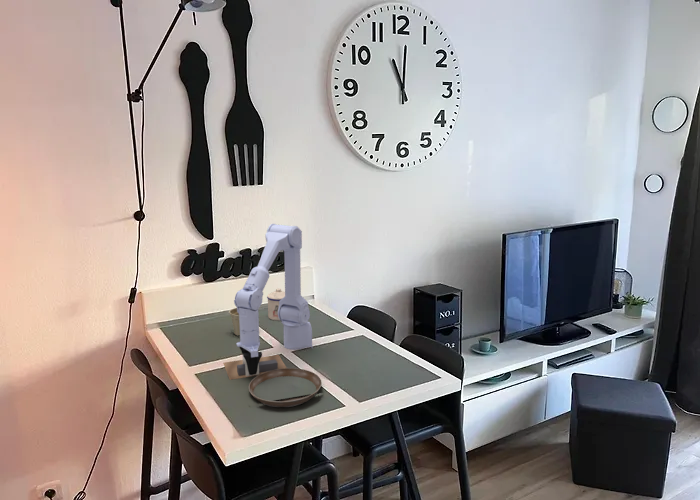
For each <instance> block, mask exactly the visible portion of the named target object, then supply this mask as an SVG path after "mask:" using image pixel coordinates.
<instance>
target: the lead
mask: <svg viewBox="0 0 700 500" xmlns="http://www.w3.org/2000/svg"><path fill="white" fill-rule="evenodd" d="M276 369H278V363H277V361H276V359H275V360H268V361H261V362H259V373H261V372H267V371H271V370H276ZM237 373H238V375H239V376H241V375H246V373H245V364H241V365H237Z"/></svg>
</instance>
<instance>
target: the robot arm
mask: <svg viewBox="0 0 700 500" xmlns="http://www.w3.org/2000/svg"><path fill="white" fill-rule="evenodd" d="M302 232H303V231H302V229H300V227H299V226H297V225H285V224H276V223H270V224H269V226H268V228H267V230H266V232H265V234H264V235H265V236H264V237H265V242H266V243H265V246H264V248H263V250H262V253H261V257H260V260H259V261H258V264H257V266H255V267H253V268H251V270H250V273H249V275H248V277H247V279H246V281H245V283H244V285H243V287H242V288H241V289H240V290H237V292H236V294H235V297H234V300H233V304H234V306H235V308H237V312H238V313H239V324H240V335H239V341H238V342H236V344H235V345H236V347H238V348H239V349H240V351H241V354H242V357H243V356H244V358H245V360H246V363H247V367H248V372H249V374H250V375H253V374H256V373H257V369H258V364H259V361H260V358H261V357H263V352H262V351H259V348H260V345H261V340H260V321H259V318H260V317H259V316H260V315H259V309H260V307H261V305H263V304H262V303H263V296H264V289H265V287H266V285H267V283H268V281H269V278H270V272H269V270H270V268H271V266H272V265H273V263H274V261H275V260H276V258H277V256H278V254H279V252H280V251H283V252H284V253H283V254H284V292H285V297H284V298H282V299H281V300H280V301H279V308H278V318H279V319H280V320H279V321H281V324H283V325H282V326H283V328H282V329H283V347H284V348H285V349H287V350H291V351H292V350H294V351H295V350H301V349H305V348H311V349H314V348H313V329H312V324H311V322H310V321H309V320H310V317H311V312H310V308H309V301H308V300H307V299H306V298H304V297H303V296H302V294H301V293H302V292H301V290H302V288H301V287H302V286H301V285H302V284H301V282H302V280H301V279H302V277H301V274H302V273H301V249H302V247H303V240H302V239H303V238H302V237H303V234H302Z"/></svg>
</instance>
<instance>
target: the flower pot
mask: <svg viewBox="0 0 700 500" xmlns="http://www.w3.org/2000/svg"><path fill="white" fill-rule="evenodd" d="M228 313H229V314H230V317H231V321H232V328H233V332H234V335H235V336H239V337H240V324H239V313H238V312H237V307H234V308H232V309H230V310H229V311H228Z"/></svg>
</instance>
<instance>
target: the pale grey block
mask: <svg viewBox="0 0 700 500" xmlns="http://www.w3.org/2000/svg"><path fill="white" fill-rule="evenodd" d="M242 360H243V364H245V373H246V376H252V375H250V374H249V372H248V367H247V363H246V360H245V358H244V356H243V355H242ZM253 375H259V364H258V369H257V373H256V374H253ZM252 377H253V376H252Z"/></svg>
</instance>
